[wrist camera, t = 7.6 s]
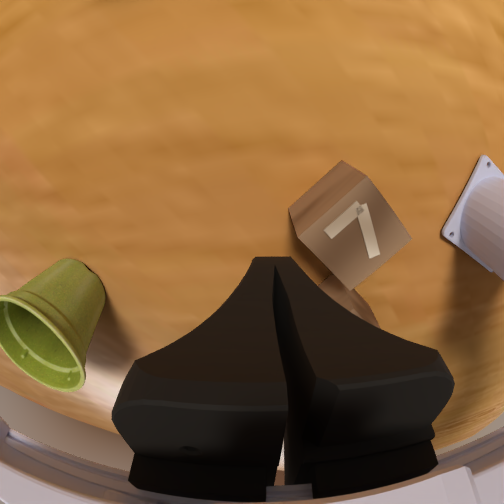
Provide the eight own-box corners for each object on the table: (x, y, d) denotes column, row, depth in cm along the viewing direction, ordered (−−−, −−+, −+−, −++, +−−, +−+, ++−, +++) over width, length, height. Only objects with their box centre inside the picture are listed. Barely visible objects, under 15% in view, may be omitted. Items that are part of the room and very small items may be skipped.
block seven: (382, 210, 20) (413, 239, 16) (332, 253, 22) (350, 291, 17) (341, 159, 19) (367, 176, 14) (288, 207, 20) (297, 238, 16)
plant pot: (134, 330, 26) (102, 402, 18) (59, 322, 26) (21, 380, 18) (108, 238, 21) (50, 302, 14) (29, 242, 22) (-29, 293, 14)
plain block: (368, 304, 24) (387, 343, 19) (324, 337, 26) (335, 378, 21) (336, 270, 22) (353, 308, 18) (288, 307, 24) (295, 350, 20)
